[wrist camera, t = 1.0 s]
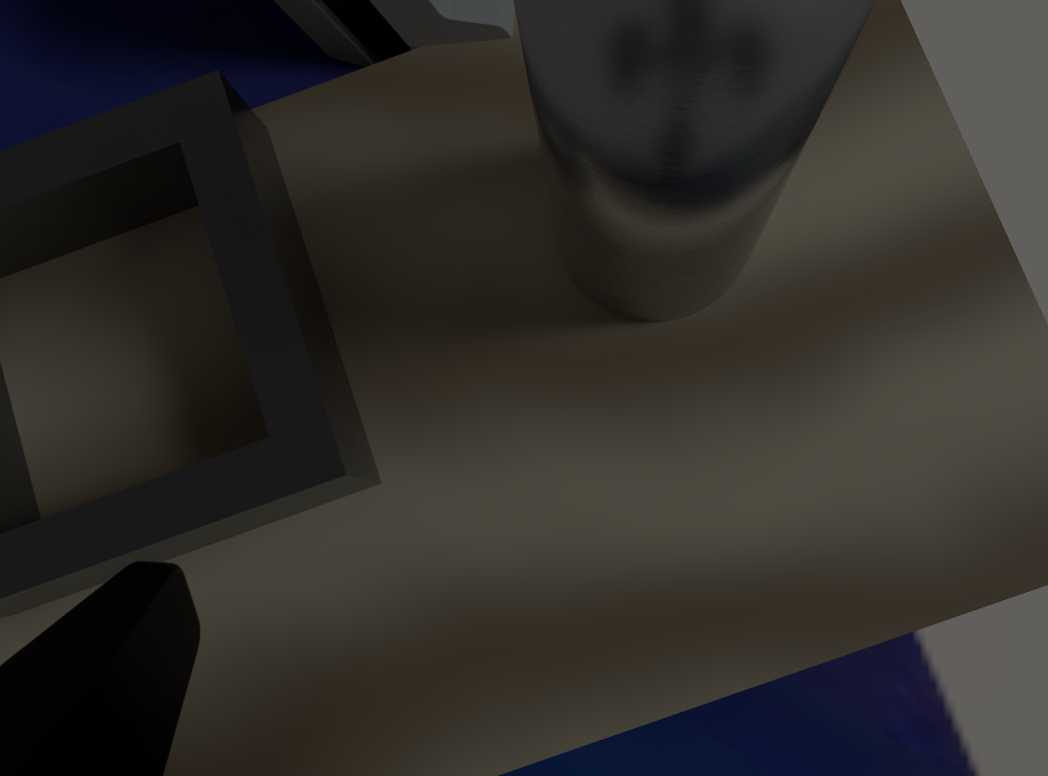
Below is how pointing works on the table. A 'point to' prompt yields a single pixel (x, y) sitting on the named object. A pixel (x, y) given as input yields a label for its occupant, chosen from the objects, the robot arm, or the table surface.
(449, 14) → the grey arched block
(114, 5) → the table surface
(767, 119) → the pin
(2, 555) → the knuckle socket
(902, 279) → the board
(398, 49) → the table surface
